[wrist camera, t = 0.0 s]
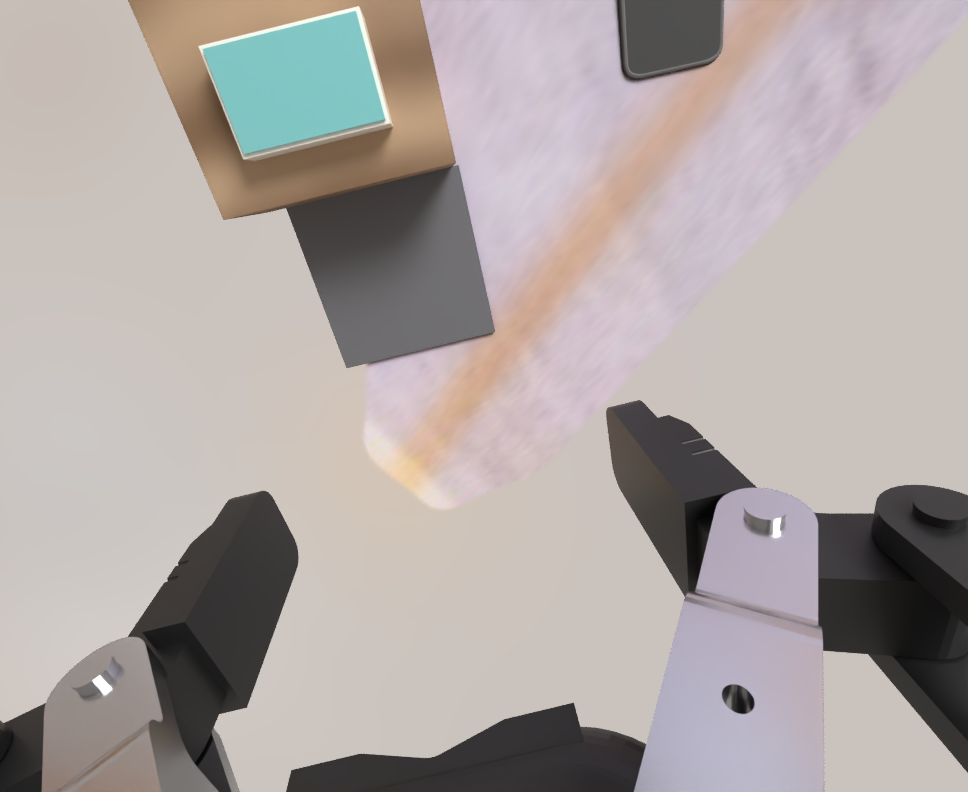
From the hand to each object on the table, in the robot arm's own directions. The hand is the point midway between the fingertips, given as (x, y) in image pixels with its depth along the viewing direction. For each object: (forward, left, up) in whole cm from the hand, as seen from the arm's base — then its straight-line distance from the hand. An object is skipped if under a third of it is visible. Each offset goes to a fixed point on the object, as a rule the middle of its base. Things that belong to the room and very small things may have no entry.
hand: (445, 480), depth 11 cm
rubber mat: (0, -3, -29) cm, 29 cm away
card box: (-12, -4, -21) cm, 25 cm away
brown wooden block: (-13, -4, -29) cm, 32 cm away
